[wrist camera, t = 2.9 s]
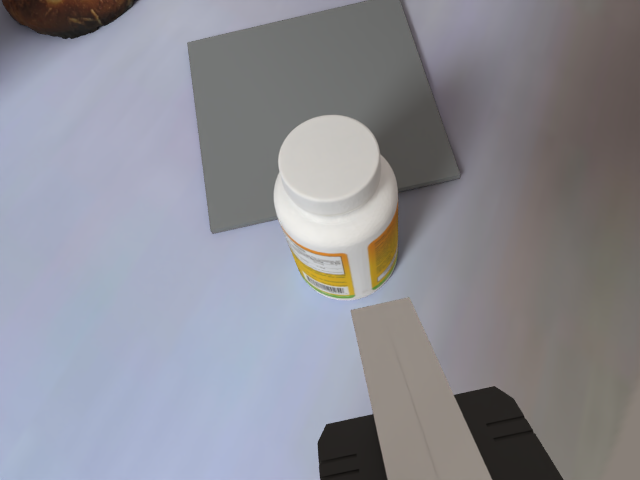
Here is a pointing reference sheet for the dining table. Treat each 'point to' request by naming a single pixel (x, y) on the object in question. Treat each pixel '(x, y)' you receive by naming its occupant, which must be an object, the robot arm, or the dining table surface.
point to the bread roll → (66, 15)
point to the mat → (311, 102)
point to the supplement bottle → (338, 206)
